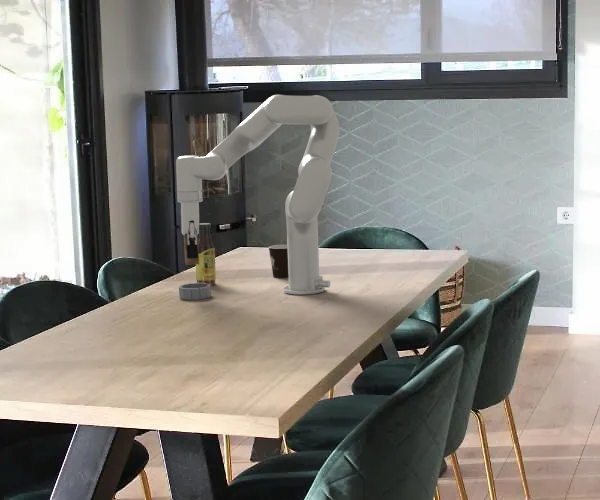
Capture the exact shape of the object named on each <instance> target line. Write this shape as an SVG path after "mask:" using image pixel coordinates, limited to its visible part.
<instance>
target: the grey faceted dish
mask: <svg viewBox="0 0 600 500" xmlns="http://www.w3.org/2000/svg"><path fill="white" fill-rule="evenodd" d="M211 286H212V285H210V284H207V283H197V282H191V283H183V284H180V285H178V298H179V299H180V300H184V299H185V301H188V300H189V301H197V300H199V299H200V300H205V299H209V298H210V297H211V296H212V290H211V289H212V287H211Z"/></svg>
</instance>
